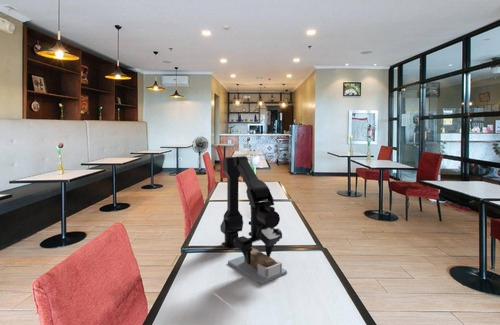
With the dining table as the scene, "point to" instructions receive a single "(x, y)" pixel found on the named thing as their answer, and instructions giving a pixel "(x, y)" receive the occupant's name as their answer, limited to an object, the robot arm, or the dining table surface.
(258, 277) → the bracket
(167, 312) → the dining table surface
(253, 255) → the brown wooden block
